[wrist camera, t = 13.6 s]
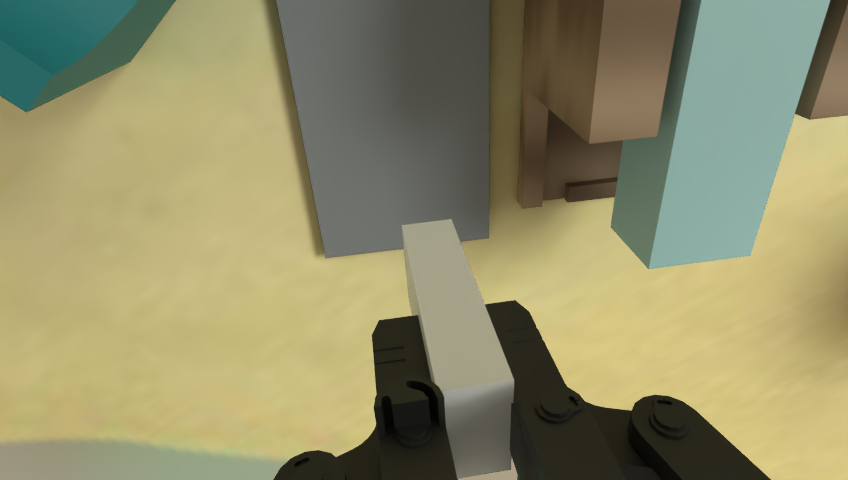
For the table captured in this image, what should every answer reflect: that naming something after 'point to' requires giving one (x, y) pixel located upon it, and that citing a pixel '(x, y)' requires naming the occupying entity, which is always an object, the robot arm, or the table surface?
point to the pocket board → (621, 88)
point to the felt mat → (391, 115)
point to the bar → (716, 130)
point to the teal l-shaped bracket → (68, 43)
